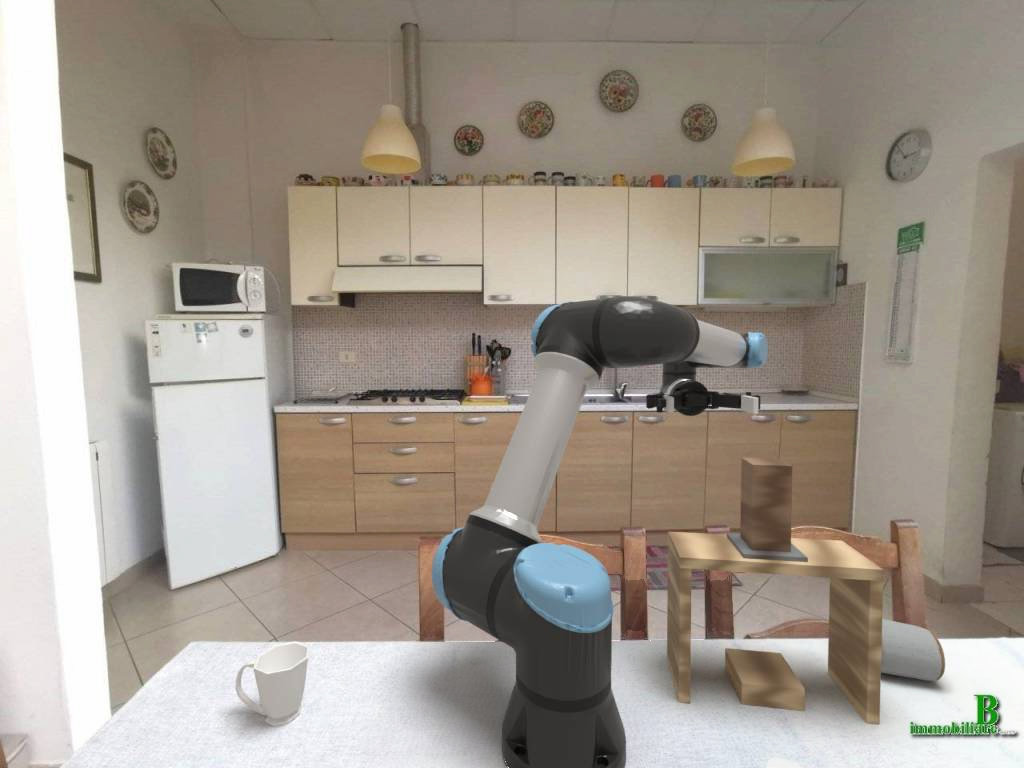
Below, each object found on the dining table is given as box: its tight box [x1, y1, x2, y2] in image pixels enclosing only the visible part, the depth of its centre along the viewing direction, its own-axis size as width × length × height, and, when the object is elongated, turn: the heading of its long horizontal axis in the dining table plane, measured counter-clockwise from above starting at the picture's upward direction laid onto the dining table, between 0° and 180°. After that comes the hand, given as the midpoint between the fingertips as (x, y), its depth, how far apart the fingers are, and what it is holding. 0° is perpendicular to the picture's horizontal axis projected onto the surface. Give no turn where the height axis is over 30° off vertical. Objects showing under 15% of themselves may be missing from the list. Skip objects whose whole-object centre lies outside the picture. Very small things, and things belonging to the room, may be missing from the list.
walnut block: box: [739, 457, 793, 552], centre depth 66 cm, size 5×5×12 cm
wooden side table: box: [666, 531, 885, 725], centre depth 67 cm, size 25×10×21 cm, turn 80°
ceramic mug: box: [881, 618, 946, 682], centre depth 72 cm, size 11×8×8 cm
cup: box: [234, 640, 311, 728], centre depth 62 cm, size 7×10×8 cm
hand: (713, 405), depth 79 cm, fingers open, 13 cm apart
